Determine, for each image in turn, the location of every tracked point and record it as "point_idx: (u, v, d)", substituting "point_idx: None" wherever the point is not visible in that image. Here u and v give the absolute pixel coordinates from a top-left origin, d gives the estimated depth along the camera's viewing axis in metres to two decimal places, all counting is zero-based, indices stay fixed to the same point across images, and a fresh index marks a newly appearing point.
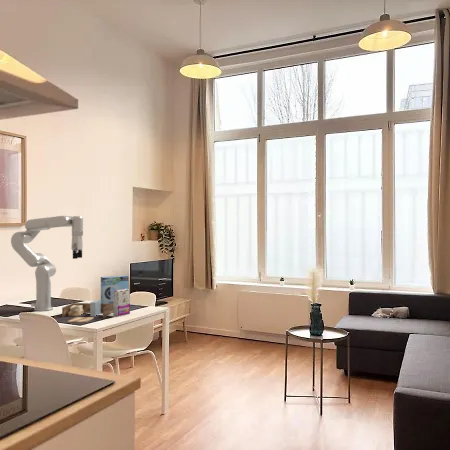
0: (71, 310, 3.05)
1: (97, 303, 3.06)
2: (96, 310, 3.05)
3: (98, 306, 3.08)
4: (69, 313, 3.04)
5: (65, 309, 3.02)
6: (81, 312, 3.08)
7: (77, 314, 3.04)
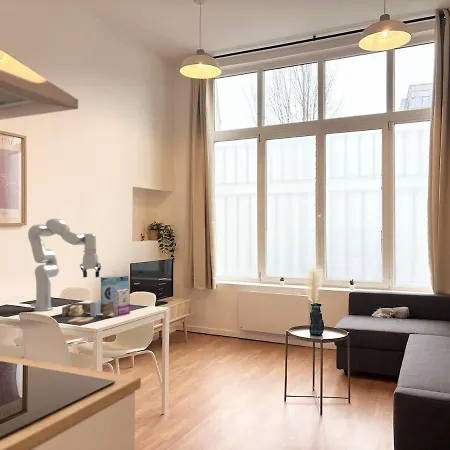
0: (71, 311, 3.04)
1: (97, 303, 3.06)
2: (96, 310, 3.05)
3: (98, 306, 3.08)
4: (69, 313, 3.04)
5: (65, 309, 3.02)
6: (81, 312, 3.08)
7: (77, 314, 3.04)
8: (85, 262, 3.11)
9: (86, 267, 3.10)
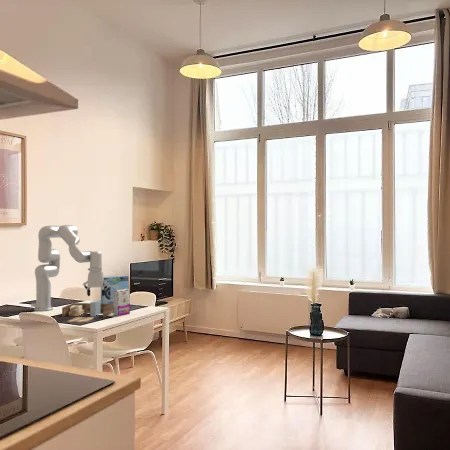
0: (70, 310, 3.04)
1: (97, 303, 3.06)
2: (96, 310, 3.05)
3: (98, 306, 3.08)
4: (69, 313, 3.04)
5: (65, 309, 3.02)
6: (81, 312, 3.08)
7: (77, 314, 3.04)
8: (91, 280, 3.05)
9: (92, 286, 3.05)
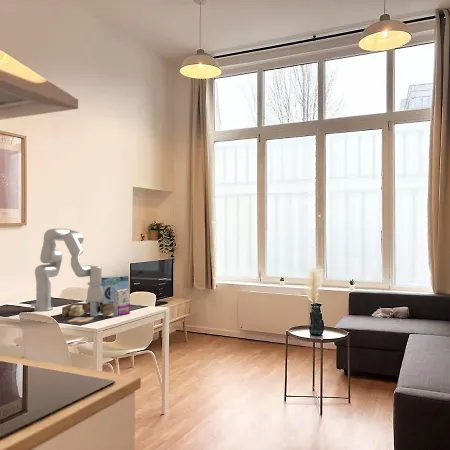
0: (71, 310, 3.04)
1: (97, 303, 3.06)
2: (96, 310, 3.05)
3: None
4: (69, 313, 3.04)
5: (65, 309, 3.02)
6: (81, 312, 3.08)
7: (77, 314, 3.04)
8: (90, 295, 3.05)
9: (91, 300, 3.05)
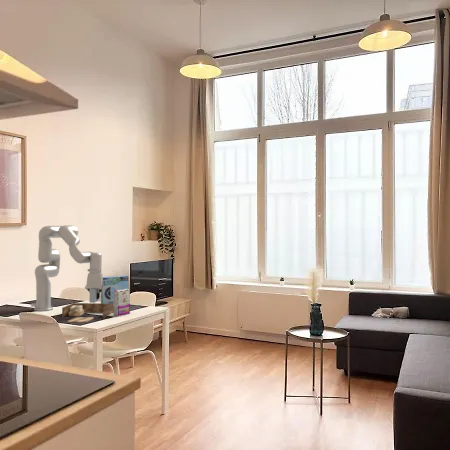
0: (71, 311, 3.04)
1: (96, 290, 3.06)
2: (96, 296, 3.05)
3: None
4: (69, 313, 3.04)
5: (65, 309, 3.02)
6: (81, 312, 3.08)
7: (77, 314, 3.03)
8: (90, 282, 3.05)
9: (91, 287, 3.05)
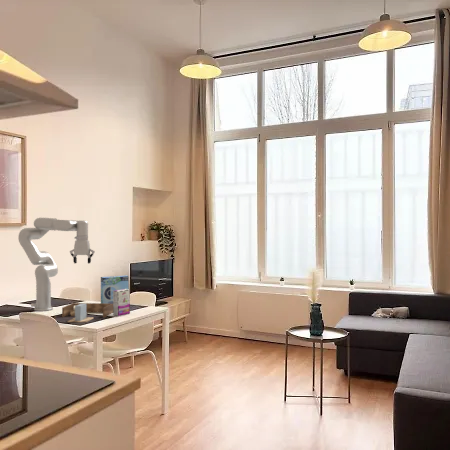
0: (74, 311, 3.04)
1: (82, 307, 2.89)
2: (82, 314, 2.87)
3: (84, 310, 2.91)
4: (71, 313, 3.04)
5: (65, 309, 3.02)
6: None
7: None
8: (77, 248, 3.16)
9: (78, 253, 3.16)
